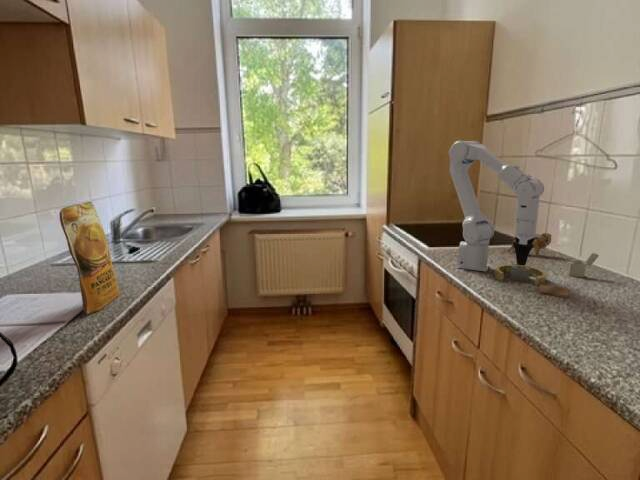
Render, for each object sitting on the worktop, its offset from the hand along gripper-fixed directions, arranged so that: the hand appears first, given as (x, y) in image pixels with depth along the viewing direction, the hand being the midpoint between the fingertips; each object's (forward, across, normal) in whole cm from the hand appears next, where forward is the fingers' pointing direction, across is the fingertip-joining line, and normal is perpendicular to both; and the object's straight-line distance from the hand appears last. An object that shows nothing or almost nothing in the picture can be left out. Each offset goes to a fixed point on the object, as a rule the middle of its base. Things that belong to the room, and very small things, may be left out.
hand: (521, 262), depth 115 cm
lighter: (+6, +12, -17) cm, 22 cm away
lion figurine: (+6, +34, -1) cm, 35 cm away
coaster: (+6, -8, -9) cm, 13 cm away
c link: (+6, 0, 0) cm, 6 cm away
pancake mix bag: (+5, -77, +100) cm, 126 cm away
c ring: (+5, +2, 0) cm, 6 cm away
